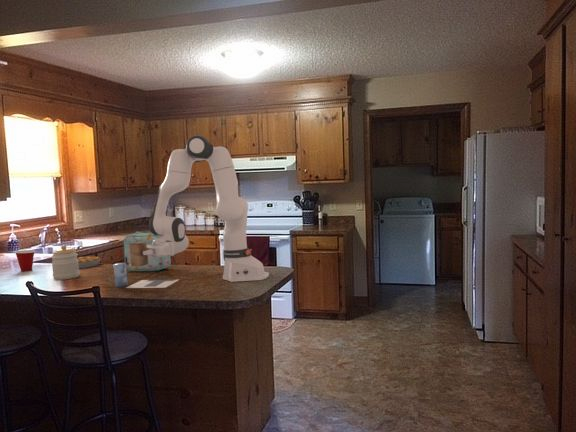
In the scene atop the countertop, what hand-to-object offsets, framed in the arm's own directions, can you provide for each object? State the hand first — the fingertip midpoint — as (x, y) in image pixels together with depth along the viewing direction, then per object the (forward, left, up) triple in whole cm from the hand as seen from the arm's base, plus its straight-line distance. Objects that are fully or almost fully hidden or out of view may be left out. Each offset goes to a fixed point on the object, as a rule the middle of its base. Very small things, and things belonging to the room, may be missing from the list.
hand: (137, 253), depth 205 cm
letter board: (+2, -16, -18) cm, 24 cm away
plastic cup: (+102, -56, -18) cm, 117 cm away
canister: (+16, -12, -18) cm, 27 cm away
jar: (+61, -35, -18) cm, 72 cm away
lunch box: (+22, -51, -18) cm, 58 cm away
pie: (+74, -68, -18) cm, 102 cm away
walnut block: (0, -1, -6) cm, 6 cm away
